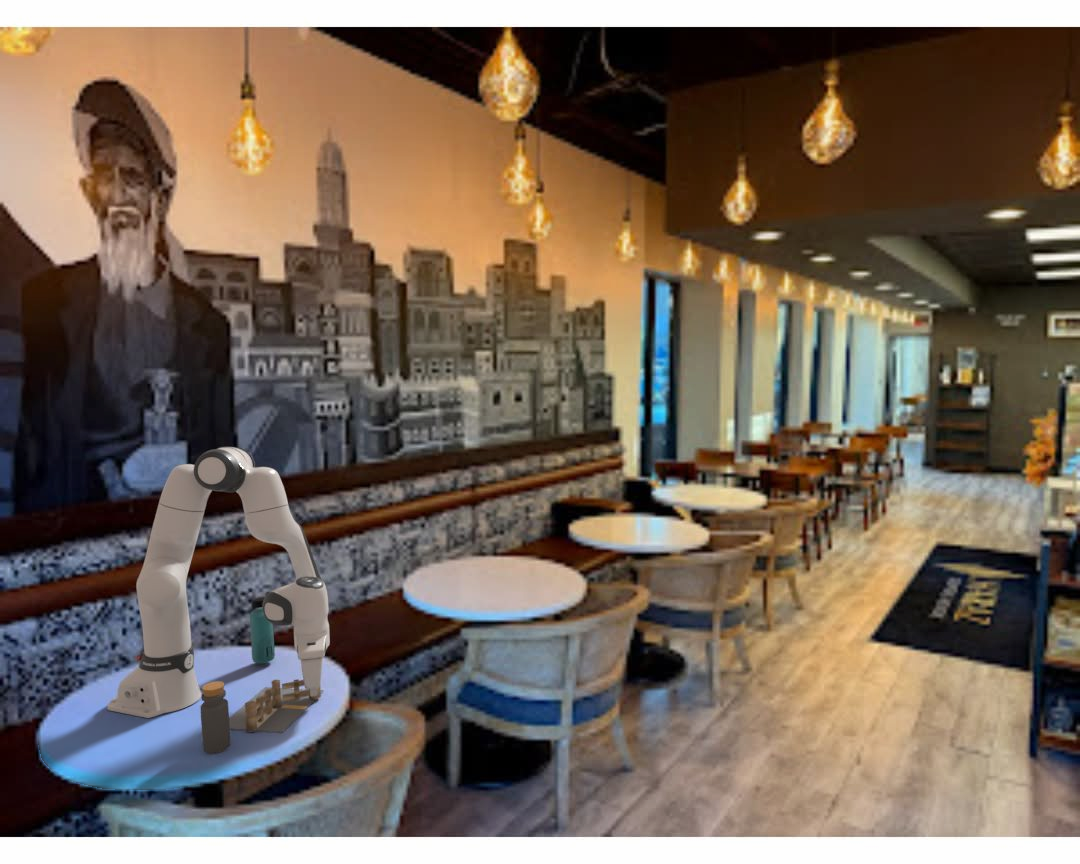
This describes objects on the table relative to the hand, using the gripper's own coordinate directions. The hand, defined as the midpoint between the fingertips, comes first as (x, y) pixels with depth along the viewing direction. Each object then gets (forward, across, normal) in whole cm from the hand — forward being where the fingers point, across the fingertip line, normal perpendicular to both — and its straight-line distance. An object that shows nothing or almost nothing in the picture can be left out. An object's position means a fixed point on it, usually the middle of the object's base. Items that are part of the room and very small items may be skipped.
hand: (314, 690), depth 188 cm
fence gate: (+2, 0, -3) cm, 4 cm away
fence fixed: (+3, +6, -12) cm, 14 cm away
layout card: (+3, +1, -10) cm, 11 cm away
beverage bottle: (+4, -30, -15) cm, 34 cm away
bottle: (+3, +17, -21) cm, 27 cm away
